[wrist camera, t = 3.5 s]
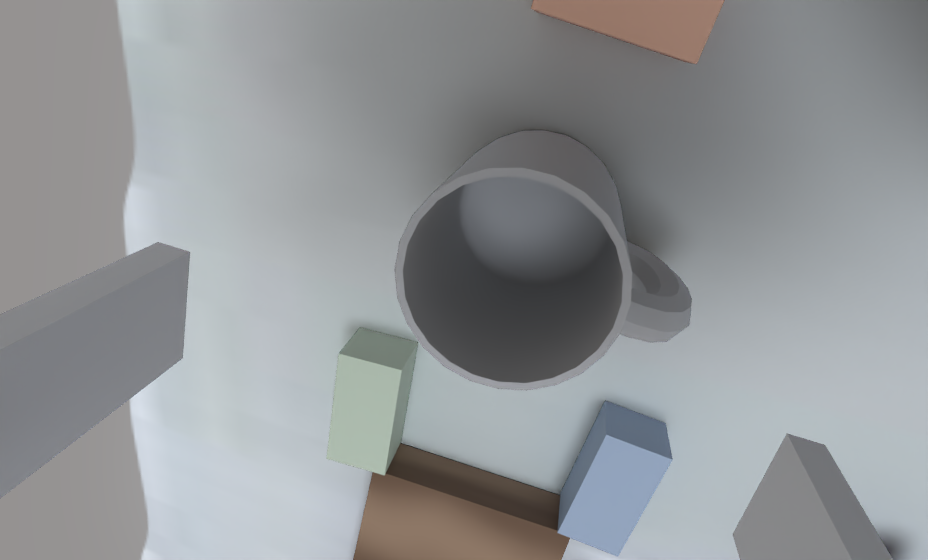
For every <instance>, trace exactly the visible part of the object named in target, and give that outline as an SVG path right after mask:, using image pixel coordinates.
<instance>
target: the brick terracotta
mask: <svg viewBox="0 0 928 560" xmlns="http://www.w3.org/2000/svg"><path fill="white" fill-rule="evenodd" d="M724 1H725V0H533V3H532V6H531V9H532V10H534V11H536V12H538V13H541V14H544V15H547V16H550V17H553V18H556V19H559V20H562V21H565V22H568V23H571V24H574V25H577V26H580V27H583V28H586V29H589V30H592V31H595V32H598V33H601V34H604V35H607V36H610V37H613V38H616V39H619V40H622V41H625V42H627V43H630V44H633V45H636V46H639V47H642V48H645V49H648V50H651V51H654V52H657V53H660V54H663V55H666V56H669V57H672V58H675V59H678V60H681V61H684V62H688V63H693V64H697V62H698V60H699V58H700V55H701V53H702V51H703V49H704V46H705V44H706V42H707V39H708V37H709V35H710V33H711V30H712V28H713V26H714V23H715V21H716V19H717V17H718V14H719V12H720V10H721V7H722V5H723V3H724Z"/></svg>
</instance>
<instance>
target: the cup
mask: <svg viewBox="0 0 928 560" xmlns="http://www.w3.org/2000/svg"><path fill="white" fill-rule="evenodd" d="M395 279H396V289H397V298H398V301H399V303H400V306H401V309H402V312H403V314H404V317H405V320H406V322H407V324H408V326H409V327H410V329H411V330H412V332H413V333H414V335H415V336H416V338H417V339H418V341H419V342H420V344H421V345H422V346H423V348H424V349H425V350H427V351H428V352H429V353H430V354H431V355H432V356H433V357H434V358H436V359H437V360H438V361H439V362H440V363H441V364H442V365H443V366H444V367H446V368H448V369H450V370H452V371H453V372H455V373H457V374H459V375H461V376H462V377H464V378H466V379H468V380H469V381H473V382H476V383H480V384H483V385H487V386H490V387H494V388H497V389H512V390H531V389H537V388H542V387H548V386H553V385H557V384H559V383H561V382H563V381H566V380H568V379H570V378H572V377H575V376H577V375H579V374H581V373H583V372H584V371H585V370H587V369H588V368H589V367H590V366H591V365H593V364H594V363H595V362H596V361H598V360H599V359H600V358H601V357H603V356H604V355H605V353H606V352H607V351H608V349H609V348H610V346H611V345H612V344H613V342H614V341H615V339H616V338H617V337H618V335H619V334H621V335H624V336H627V337H630V338H634V339H638V340H642V341H646V342H667V341H668V340H669V339H671V338H672V337H673V336H675V335H676V334H678V333H679V332H680V331H682V330H683V329H684V328H686V327H687V326H689V323H690V316H691V302H692V298H691V295H690V293H689V290H688V288H687V287H686V285H685V284H684V283H683V281H682V280H681V278H680V277H679V276H678V275H677V274H676V273H674V272H673V271H672V270H671V269H670V268H669V267H668V266H667V265H666V264H665V263H664V262H663V261H662V260H660V259H659V258H658V257H656V256H655V255H653V254H652V253H650V252H649V251H647V250H645V249H643V248H641V247H639V246H637V245H635V244H632V243H630V242H627V239H626V233H625V227H624V220H623V214H622V208H621V204H620V200H619V196H618V192H617V188H616V185H615V183H614V181H613V179H612V177H611V176H610V174H609V172H608V170H607V169H606V167H605V165H604V163H603V162H602V161H601V160H600V159H599V158H598V157H597V156H596V155H595V154H594V153H593V152H592V151H591V150H590V149H589V148H588V147H587V146H585V145H583V144H581V143H579V142H578V141H576V140H574V139H572V138H570V137H569V136H567V135H563V134H559V133H554V132H550V131H546V130H530V131H519V132H516V133H513V134H509V135H506V136H503V137H500V138H498V139H496V140H494V141H493V142H491V143H490V144H488V145H486V146H485V147H483V148H482V149H480V150H478V151H477V152H476V153H475V154H474V155H473V156H472V157H471V158H470V159H469V160H468V161H466V162H465V163H464V164H463V165H462V166H461V167H460V168H459V169H458V170H457V171H456V172H455V173H454V174H453V175H451V176H450V177H449V178H448V179H447V180H446V181H445V182H444V183H443V184H442V185H441V186H440V187H439V188H437V189H436V190H435V191H434V192H433V193H432V194H431V195H430V196H429V198H428V199H427V200H426V201H425V202H424V203H423V204H422V205H421V206H420V208H419V209H418V210H417V211H416V212H415V213H414V214H413V215H412V217H411V219H410V221H409V223H408V225H407V227H406V229H405V231H404V233H403V235H402V237H401V239H400V242H399V247H398V253H397V259H396V264H395Z"/></svg>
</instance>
